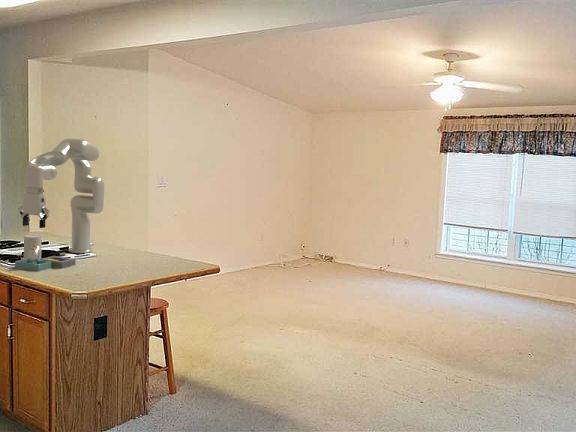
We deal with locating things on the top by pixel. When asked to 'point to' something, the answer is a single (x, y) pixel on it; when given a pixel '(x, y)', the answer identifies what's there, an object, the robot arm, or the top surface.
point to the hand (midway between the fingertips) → (34, 226)
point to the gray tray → (60, 261)
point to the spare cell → (38, 250)
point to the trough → (32, 265)
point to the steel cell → (33, 256)
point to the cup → (31, 244)
